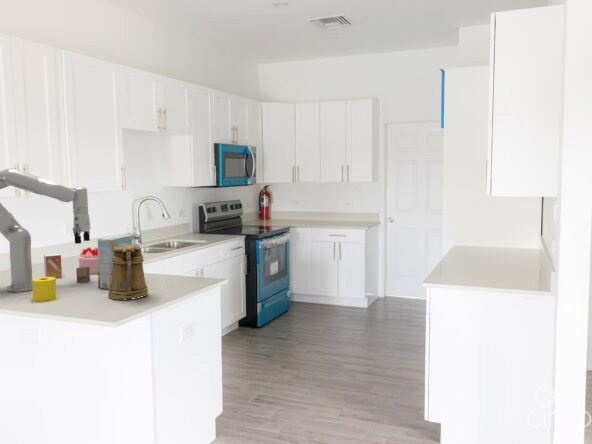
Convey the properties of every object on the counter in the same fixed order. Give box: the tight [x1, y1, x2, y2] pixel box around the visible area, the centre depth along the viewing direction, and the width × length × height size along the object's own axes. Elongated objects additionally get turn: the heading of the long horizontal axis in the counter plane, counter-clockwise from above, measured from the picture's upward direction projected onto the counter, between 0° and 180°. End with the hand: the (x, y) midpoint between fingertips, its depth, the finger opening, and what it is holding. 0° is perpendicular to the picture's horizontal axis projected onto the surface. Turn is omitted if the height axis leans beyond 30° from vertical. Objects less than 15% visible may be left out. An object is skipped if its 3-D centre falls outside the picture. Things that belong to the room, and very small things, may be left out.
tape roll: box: [32, 276, 57, 302], centre depth 250 cm, size 10×10×9 cm
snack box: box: [97, 234, 133, 290], centre depth 278 cm, size 22×9×26 cm, turn 168°
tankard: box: [108, 243, 149, 301], centre depth 251 cm, size 18×24×25 cm
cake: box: [78, 246, 98, 275], centre depth 317 cm, size 20×20×14 cm
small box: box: [43, 253, 63, 279], centre depth 299 cm, size 8×6×13 cm
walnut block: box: [75, 267, 91, 284], centre depth 287 cm, size 5×5×8 cm
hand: (82, 242), depth 285 cm, fingers open, 9 cm apart
